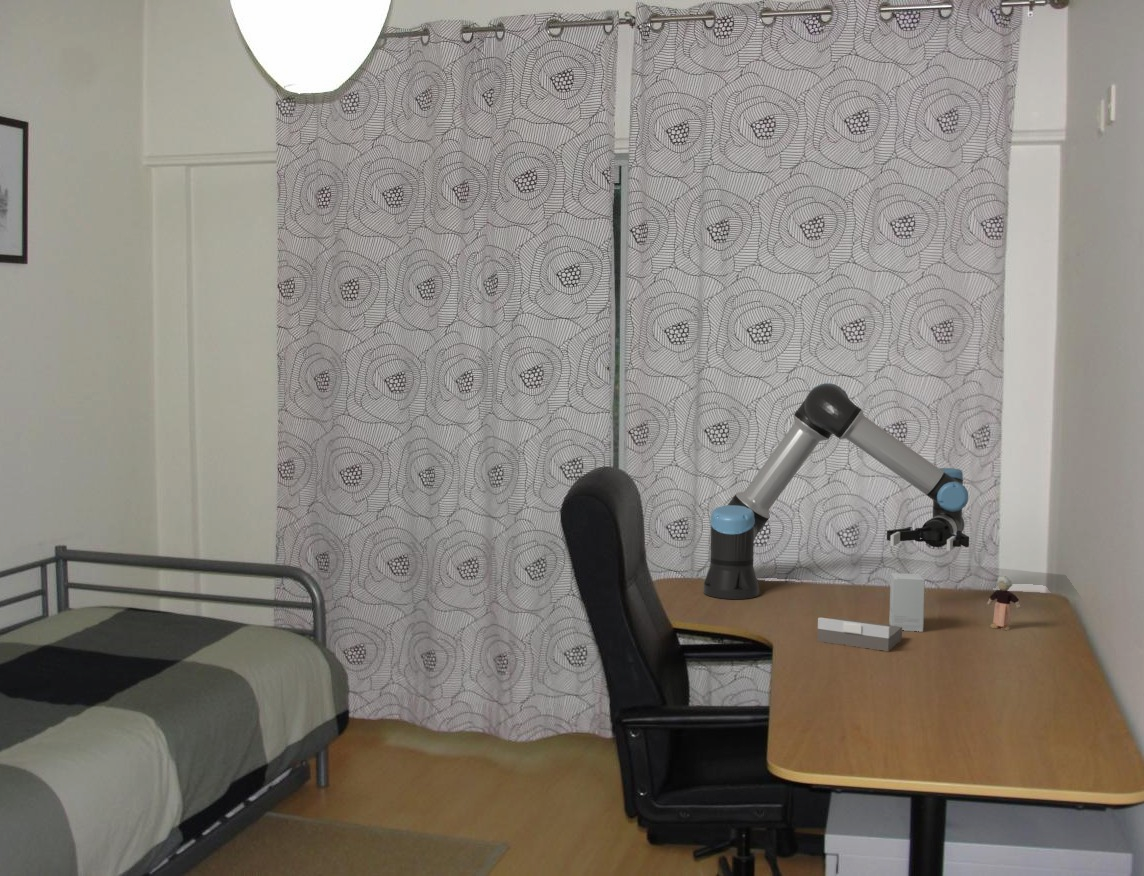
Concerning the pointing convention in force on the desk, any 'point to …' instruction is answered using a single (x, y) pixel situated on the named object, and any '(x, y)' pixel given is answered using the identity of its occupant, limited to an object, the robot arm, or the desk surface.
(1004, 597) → the grandmother figurine
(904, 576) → the supplement box
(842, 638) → the shelf board
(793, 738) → the desk surface
